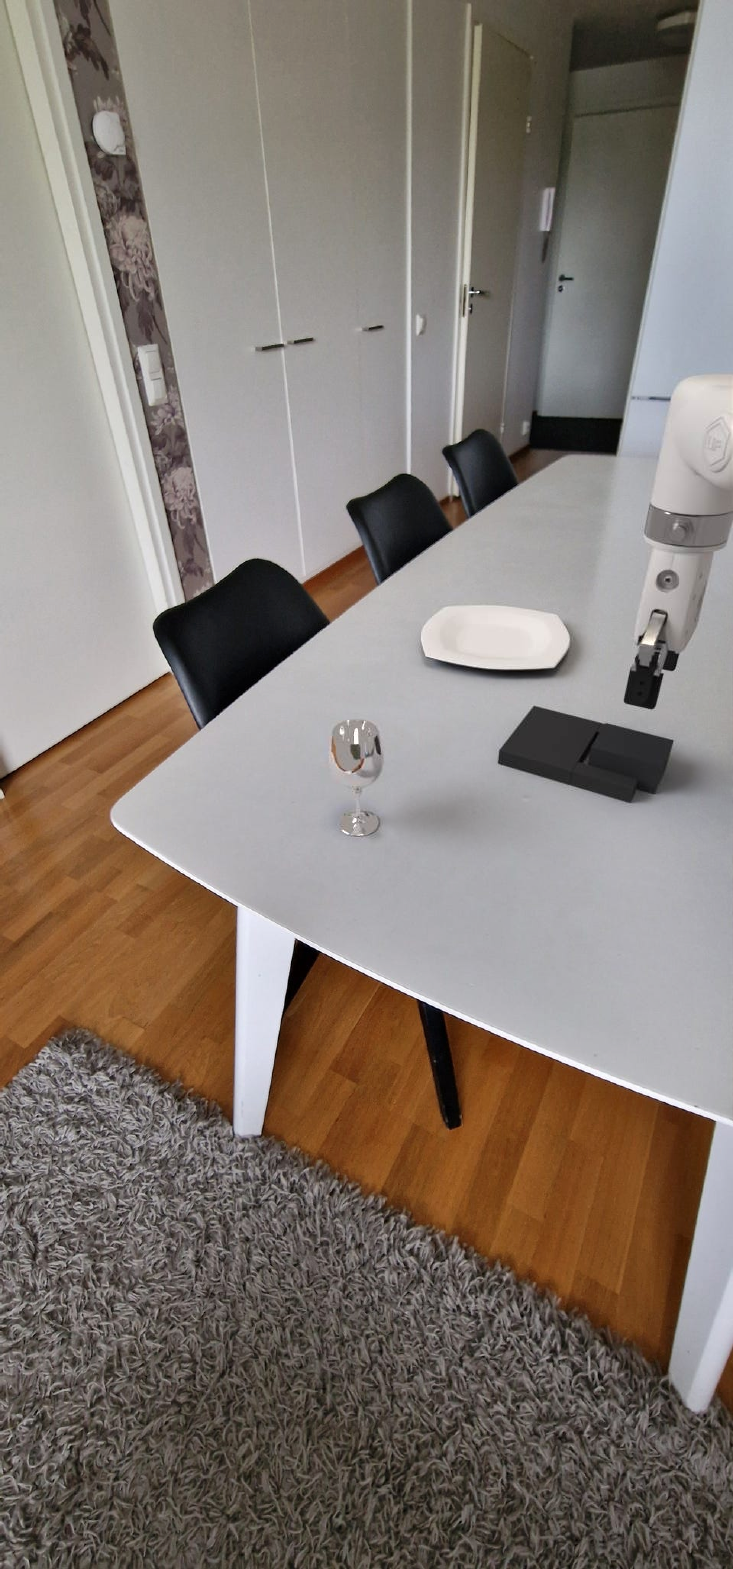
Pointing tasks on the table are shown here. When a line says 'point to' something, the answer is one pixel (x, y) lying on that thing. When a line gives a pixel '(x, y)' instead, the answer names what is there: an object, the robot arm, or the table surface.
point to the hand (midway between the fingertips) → (650, 685)
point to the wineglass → (356, 768)
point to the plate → (495, 637)
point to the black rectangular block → (632, 755)
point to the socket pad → (562, 753)
